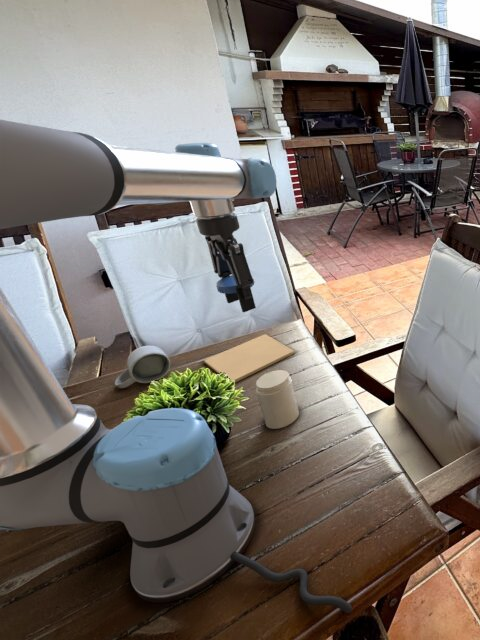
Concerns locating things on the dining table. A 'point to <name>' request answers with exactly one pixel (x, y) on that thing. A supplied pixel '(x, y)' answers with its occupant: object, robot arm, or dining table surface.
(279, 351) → the mat
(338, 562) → the dining table surface
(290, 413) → the jar
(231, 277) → the lid
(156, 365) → the ceramic mug
